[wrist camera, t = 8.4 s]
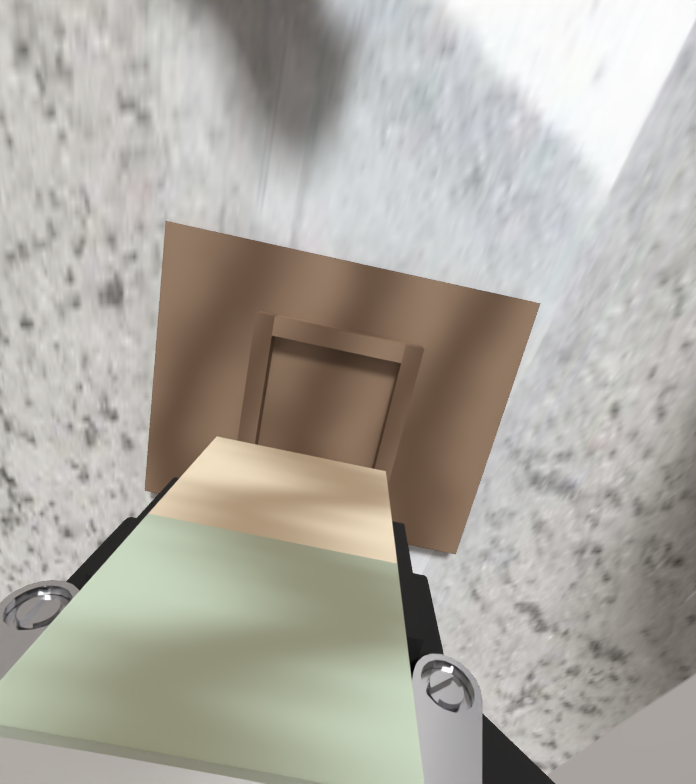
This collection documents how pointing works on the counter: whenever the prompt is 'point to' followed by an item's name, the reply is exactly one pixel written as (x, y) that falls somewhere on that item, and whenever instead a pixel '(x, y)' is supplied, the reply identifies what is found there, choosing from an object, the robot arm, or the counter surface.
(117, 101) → the counter surface
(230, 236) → the walnut socket board
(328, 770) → the two-tone block
